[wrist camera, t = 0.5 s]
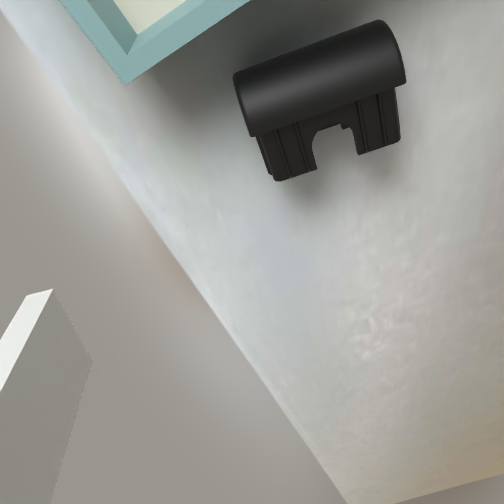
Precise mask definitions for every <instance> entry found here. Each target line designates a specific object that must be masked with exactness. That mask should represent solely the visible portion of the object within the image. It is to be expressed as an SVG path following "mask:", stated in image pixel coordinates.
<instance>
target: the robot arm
mask: <svg viewBox="0 0 504 504" xmlns="http://www.w3.org/2000/svg"><path fill="white" fill-rule="evenodd" d="M91 364H92V359H91V357H90V355H89V353H88V351H87V349H86V348H85V346H84V344H83V342H82V341H81V339H80V337H79V335H78V333H77V331H76V329H75V328H74V326H73V324H72V322H71V320H70V318H69V317H68V315H67V313H66V311H65V309H64V308H63V306H62V304H61V302H60V300H59V299H58V297H57V295H56V293H55V291H54V289H50V290H47V291H43V292H39V293H35V294H31V295H27V296H26V298H25V300H24V301H23V303H22V304H21V306H20V308H19V309H18V311H17V313H16V315H15V316H14V318H13V320H12V321H11V323H10V325H9V326H8V328H7V330H6V331H5V333H4V335H3V337H2V338H1V340H0V504H50V502H51V499H52V495H53V491H54V488H55V485H56V482H57V478H58V475H59V471H60V468H61V465H62V461H63V458H64V455H65V451H66V448H67V445H68V441H69V438H70V435H71V431H72V428H73V424H74V421H75V418H76V414H77V411H78V407H79V404H80V401H81V398H82V394H83V391H84V387H85V384H86V381H87V377H88V373H89V371H90V367H91Z"/></svg>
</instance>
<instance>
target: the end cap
mask: <svg viewBox="0 0 504 504" xmlns="http://www.w3.org/2000/svg"><path fill="white" fill-rule="evenodd" d="M233 82H234V87H235V90H236V94H237V97H238V101H239V104H240V107H241V110H242V113H243V117H244V120H245V123H246V126H247V129H248V131H249V134H250V137H255V136H256V139H257V142H258V145H259V148H260V150H261V153H262V156H263V159H264V162H265V165H266V168H267V171H268V173H269V174H271V175H272V176H273V179H274V180H275V181H283V180H286V179H289V178H292V177H295V176H298V175H301V174H304V173H307V172H310V171H313V170H316V169H317V166H316V162H315V159H314V155H313V151H312V141H313V138H314V136H315V134H316V133H317V132H318V131H320V130H323V129H326V128H329V127H332V126H335V125H338V124H341V128H342V129H346V128H349V127H350V128H351V129H352V132H353V135H354V140H355V145H356V151H357V153H358V155H361V154H364V153H367V152H370V151H373V150H376V149H379V148H382V147H385V146H388V145H391V144H394V143H396V142H398V141H399V140H400V138H401V136H400V124H399V116H398V108H397V100H396V92H395V87H397V86H400V85H403V84H405V83H406V75H405V69H404V64H403V60H402V56H401V53H400V50H399V47H398V44H397V41H396V39H395V36H394V34H393V33H392V31H391V29H390V28H389V26H388V25H387V24H386V23H385V22H384V21H382V20H375V21H372V22H370V23H367V24H364V25H362V26H359V27H356V28H354V29H351V30H348V31H346V32H343V33H340V34H338V35H335V36H332V37H330V38H327V39H324V40H322V41H319V42H316V43H314V44H311V45H308V46H306V47H303V48H300V49H297V50H295V51H292V52H289V53H287V54H284V55H281V56H279V57H276V58H273V59H271V60H268V61H265V62H263V63H260V64H257V65H255V66H252V67H249V68H247V69H244V70H241V71H239V72H236V73H234V74H233Z"/></svg>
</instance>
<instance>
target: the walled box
mask: <svg viewBox="0 0 504 504" xmlns="http://www.w3.org/2000/svg"><path fill="white" fill-rule="evenodd" d="M59 1H60V2H61V3H62V5H63V6H64V7H65V8H66V10H67V11H68V12H69V14H70V15H71V16H72V18H73V19H74V20H75V22H76V23H77V24H78V25H79V27H80V28H81V29H82V31H83V32H84V33H85V35H86V36H87V37H88V39H89V40H90V41H91V42H92V44H93V45H94V46H95V48H96V49H97V50H98V52H99V53H100V54H101V55H102V57H103V58H104V59H105V61H106V62H107V63H108V65H109V66H110V67H111V69H112V70H113V71H114V72H115V74H116V75H117V76H118V78H119V79H120V80H121V82H122V83H123V84H124V85H126V84H127V83H129V82H130V81H132V80H133V79H135V78H136V77H138V76H139V75H141V74H142V73H144V72H145V71H146V70H148V69H149V68H151V67H152V66H154V65H155V64H157V63H158V62H160V61H161V60H163V59H164V58H166V57H167V56H169V55H170V54H171V53H173V52H174V51H176V50H177V49H179V48H180V47H182V46H183V45H185V44H186V43H188V42H189V41H191V40H192V39H194V38H195V37H196V36H198V35H199V34H201V33H202V32H204V31H205V30H207V29H208V28H210V27H211V26H213V25H214V24H216V23H217V22H219V21H220V20H221V19H223V18H224V17H226V16H227V15H229V14H230V13H232V12H233V11H235V10H236V9H238V8H239V7H241V6H242V5H244V4H245V3H246V2H248V1H249V0H59Z"/></svg>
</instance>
